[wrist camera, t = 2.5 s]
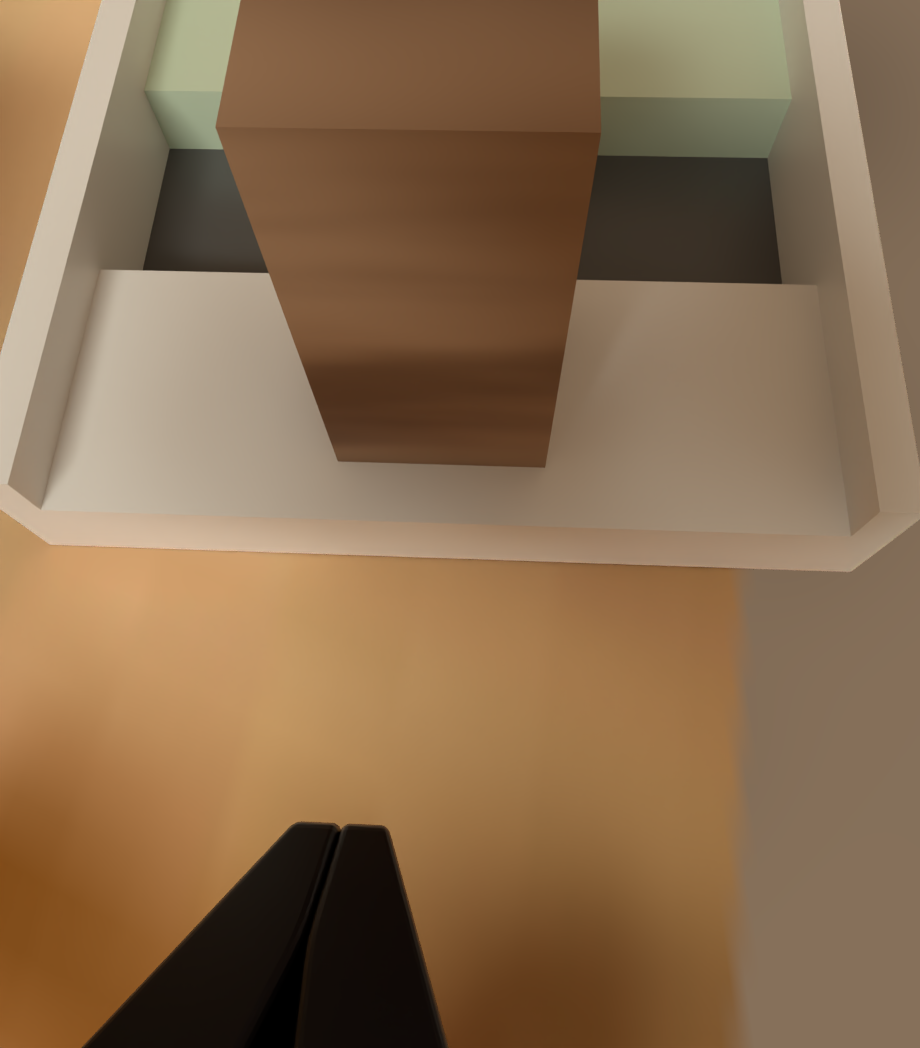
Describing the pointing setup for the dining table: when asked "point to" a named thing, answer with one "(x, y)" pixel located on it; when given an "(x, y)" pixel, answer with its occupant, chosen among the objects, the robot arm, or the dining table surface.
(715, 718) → the dining table surface
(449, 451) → the block
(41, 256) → the trap box
